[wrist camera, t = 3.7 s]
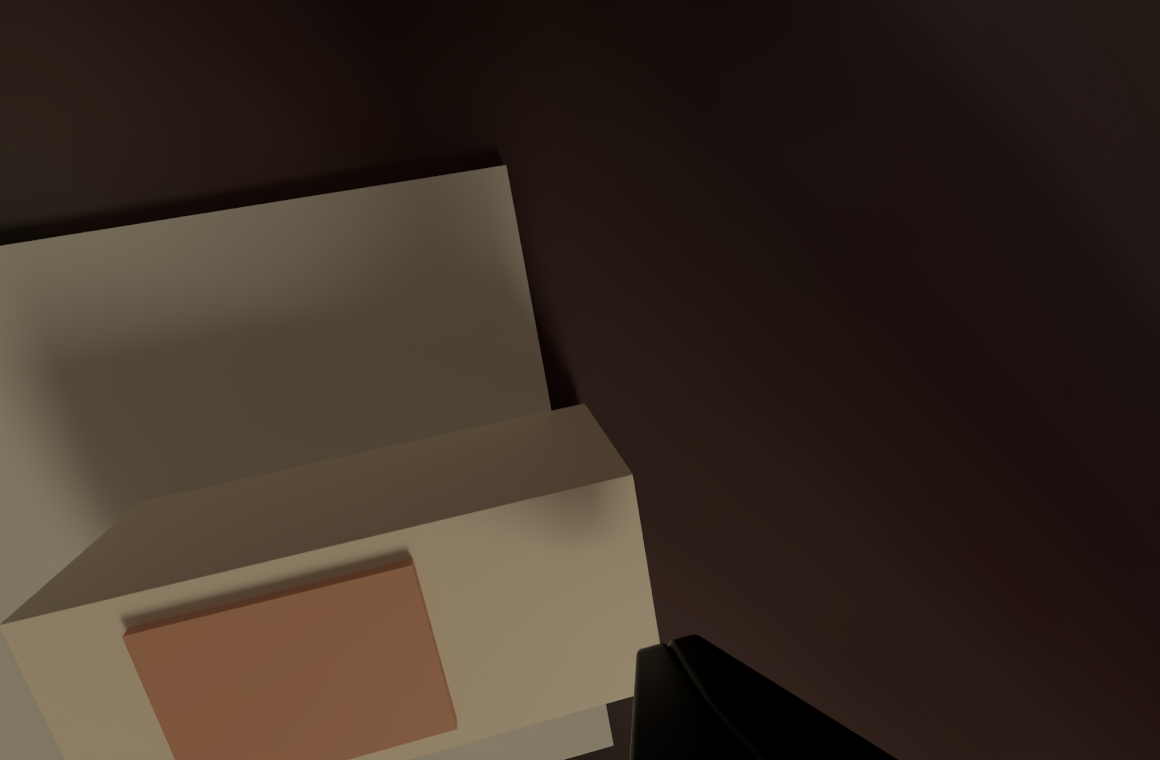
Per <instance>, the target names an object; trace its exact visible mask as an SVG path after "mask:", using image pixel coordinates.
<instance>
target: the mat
mask: <svg viewBox="0 0 1160 760" xmlns="http://www.w3.org/2000/svg"><path fill="white" fill-rule="evenodd" d="M548 411H551V405H550V400H549V394H548V389H547V384H546V378H545V373H544V367H543V362H542V357H541V351H540V346H539V340H538V335H537V329H536V324H535V319H534V313H533V308H532V302H531V297H530V292H529V286H528V281H527V275H526V270H525V265H524V259H523V254H522V248H521V243H520V238H519V232H518V227H517V221H516V216H515V210H514V205H513V200H512V194H511V189H510V183H509V178H508V173H507V167H506V165H504V166H498V167H492V168H485V169H479V170H473V171H467V172H460V173H454V174H448V175H441V176H435V177H429V178H423V179H416V180H410V181H404V182H398V183H391V184H385V185H379V186H373V187H366V188H360V189H354V190H347V191H341V192H335V193H329V194H322V195H316V196H310V197H304V198H297V199H291V200H285V201H279V202H272V203H266V204H260V205H253V206H247V207H241V208H235V209H228V210H222V211H216V212H210V213H203V214H197V215H191V216H184V217H178V218H172V219H166V220H159V221H153V222H147V223H141V224H134V225H128V226H122V227H116V228H109V229H103V230H97V231H90V232H84V233H78V234H72V235H65V236H59V237H53V238H47V239H40V240H34V241H28V242H22V243H15V244H9V245H3V246H0V624H1V623H2V622H3V621H4V620H5V619H7V618H8V617H9V616H10V615H11V614H12V613H13V612H15V611H16V610H17V609H18V608H19V607H20V606H21V605H23V604H24V603H25V602H26V601H27V600H28V599H29V598H31V597H32V596H33V595H34V594H35V593H36V592H37V591H39V590H40V589H41V588H42V587H43V586H44V585H45V584H47V583H48V582H49V581H50V580H51V579H52V578H53V577H55V576H56V575H57V574H58V573H59V572H60V571H61V570H63V569H64V568H65V567H66V566H67V565H68V564H69V563H71V562H72V561H73V560H74V559H75V558H76V557H77V556H79V555H80V554H81V553H82V552H83V551H84V550H85V549H87V548H88V547H89V546H90V545H91V544H92V543H93V542H95V541H96V540H97V539H98V538H99V537H100V536H101V535H103V534H104V533H105V532H106V531H107V530H108V529H109V528H111V527H112V526H113V525H114V524H115V523H116V522H117V521H119V520H120V519H121V518H122V517H123V516H124V515H125V514H127V513H128V512H129V511H130V510H131V509H132V508H133V507H135V506H136V505H137V504H138V503H139V502H140V501H145V500H149V499H154V498H158V497H163V496H167V495H172V494H176V493H181V492H185V491H190V490H194V489H199V488H204V487H208V486H213V485H217V484H222V483H226V482H231V481H235V480H240V479H244V478H249V477H253V476H258V475H263V474H267V473H272V472H276V471H281V470H285V469H290V468H294V467H299V466H303V465H308V464H312V463H317V462H321V461H326V460H331V459H335V458H340V457H344V456H349V455H353V454H358V453H362V452H367V451H371V450H376V449H380V448H385V447H390V446H394V445H399V444H403V443H408V442H412V441H417V440H421V439H426V438H430V437H435V436H439V435H444V434H448V433H453V432H458V431H462V430H467V429H471V428H476V427H480V426H485V425H489V424H494V423H498V422H503V421H507V420H512V419H516V418H521V417H526V416H530V415H535V414H539V413H544V412H548ZM609 746H613V741H612V735H611V730H610V724H609V719H608V714H607V708H606V704H603V705H600V706H596V707H593V708H589V709H586V710H582V711H579V712H575V713H572V714H568V715H565V716H561V717H558V718H554V719H551V720H547V721H544V722H540V723H537V724H533V725H530V726H526V727H523V728H519V729H515V730H512V731H508V732H505V733H501V734H498V735H494V736H491V737H487V738H484V739H480V740H477V741H473V742H470V743H466V744H463V745H459V746H456V747H452V748H449V749H445V750H442V751H438V752H435V753H431V754H428V755H424V756H421V757H417V758H414V759H410V760H564V759H568V758H571V757H575V756H578V755H582V754H585V753H589V752H592V751H595V750H599V749H602V748H606V747H609ZM0 760H65V759H64V757H63V755H62V753H61V751H60V749H59V747H58V745H57V743H56V741H55V739H54V737H53V735H52V733H51V731H50V729H49V727H48V725H47V723H46V720H45V718H44V716H43V714H42V712H41V710H40V708H39V706H38V704H37V702H36V700H35V698H34V696H33V694H32V692H31V690H30V688H29V686H28V684H27V682H26V680H25V678H24V676H23V674H22V672H21V670H20V668H19V666H18V664H17V662H16V659H15V657H14V655H13V653H12V651H11V649H10V647H9V645H8V643H7V641H6V639H5V637H4V635H3V633H2V631H1V629H0Z"/></svg>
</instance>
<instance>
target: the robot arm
mask: <svg viewBox="0 0 1160 760" xmlns="http://www.w3.org/2000/svg"><path fill="white" fill-rule="evenodd" d="M629 760H898V759H896V758H895V757H893V756H891V755H890V754H888V753H887V752H885V751H883V750H882V749H880V748H878V747H877V746H875V745H874V744H872V743H870V742H869V741H867V740H866V739H864V738H862V737H861V736H859V735H858V734H856V733H854V732H853V731H851V730H850V729H848V728H846V727H845V726H843V725H842V724H840V723H838V722H837V721H835V720H834V719H832V718H830V717H829V716H827V715H826V714H824V713H822V712H821V711H819V710H818V709H816V708H814V707H813V706H811V705H810V704H808V703H806V702H805V701H803V700H802V699H800V698H798V697H797V696H795V695H793V694H792V693H790V692H789V691H787V690H785V689H784V688H782V687H781V686H779V685H777V684H776V683H774V682H773V681H771V680H769V679H768V678H766V677H765V676H763V675H761V674H760V673H758V672H757V671H755V670H753V669H752V668H750V667H749V666H747V665H745V664H744V663H742V662H741V661H739V660H737V659H736V658H734V657H733V656H731V655H729V654H728V653H726V652H725V651H723V650H721V649H720V648H718V647H716V646H715V645H713V644H712V643H710V642H708V641H707V640H705V639H704V638H702V637H700V636H698V635H695V634H694V635H689V636H685V637H681V638H678V639H674V640H671V641H670V642H669V643H668V646H667V645H666V644H664V643H659V644H656V645H652V646H649V647H645V648H641V649H639V650H638V651H637V654H636V669H635V684H634V699H633V714H632V729H631V744H630V759H629Z"/></svg>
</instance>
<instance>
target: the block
mask: <svg viewBox="0 0 1160 760" xmlns="http://www.w3.org/2000/svg"><path fill="white" fill-rule="evenodd" d="M0 629H1V631H2V633H3V635H4V637H5V639H6V641H7V643H8V645H9V647H10V649H11V651H12V653H13V655H14V657H15V659H16V662H17V664H18V666H19V668H20V670H21V672H22V674H23V676H24V678H25V680H26V682H27V684H28V686H29V688H30V690H31V692H32V694H33V696H34V698H35V700H36V702H37V704H38V706H39V708H40V710H41V712H42V714H43V716H44V718H45V720H46V723H47V725H48V727H49V729H50V731H51V733H52V735H53V737H54V739H55V741H56V743H57V745H58V747H59V749H60V751H61V753H62V755H63V757H64V759H65V760H410V759H414V758H417V757H421V756H424V755H428V754H431V753H435V752H438V751H442V750H445V749H449V748H452V747H456V746H459V745H463V744H466V743H470V742H473V741H477V740H480V739H484V738H487V737H491V736H494V735H498V734H501V733H505V732H508V731H512V730H515V729H519V728H523V727H526V726H530V725H533V724H537V723H540V722H544V721H547V720H551V719H554V718H558V717H561V716H565V715H568V714H572V713H575V712H579V711H582V710H586V709H589V708H593V707H596V706H600V705H603V704H607V703H610V702H614V701H617V700H621V699H624V698H628V697H631V696H634V684H635V669H636V654H637V651H638V650H639V649H641V648H645V647H649V646H652V645H656V644H659V643H660V642H659V636H658V630H657V623H656V617H655V611H654V605H653V598H652V592H651V586H650V580H649V574H648V567H647V561H646V555H645V549H644V542H643V536H642V530H641V524H640V518H639V511H638V505H637V499H636V493H635V486H634V480H633V474H632V473H631V471H630V470H629V469H628V467H627V466H626V464H625V463H624V461H623V460H622V458H621V457H620V455H619V454H618V452H617V451H616V449H615V448H614V446H613V445H612V443H611V442H610V440H609V439H608V438H607V436H606V435H605V433H604V432H603V430H602V429H601V427H600V426H599V424H598V423H597V421H596V420H595V418H594V417H593V415H592V414H591V412H590V411H589V409H588V408H587V406H586V405H585V404H580V405H575V406H571V407H566V408H562V409H557V410H553V411H548V412H544V413H539V414H535V415H530V416H526V417H521V418H516V419H512V420H507V421H503V422H498V423H494V424H489V425H485V426H480V427H476V428H471V429H467V430H462V431H458V432H453V433H448V434H444V435H439V436H435V437H430V438H426V439H421V440H417V441H412V442H408V443H403V444H399V445H394V446H390V447H385V448H380V449H376V450H371V451H367V452H362V453H358V454H353V455H349V456H344V457H340V458H335V459H331V460H326V461H321V462H317V463H312V464H308V465H303V466H299V467H294V468H290V469H285V470H281V471H276V472H272V473H267V474H263V475H258V476H253V477H249V478H244V479H240V480H235V481H231V482H226V483H222V484H217V485H213V486H208V487H204V488H199V489H194V490H190V491H185V492H181V493H176V494H172V495H167V496H163V497H158V498H154V499H149V500H145V501H140V502H139V503H138V504H137V505H136V506H135V507H133V508H132V509H131V510H130V511H129V512H128V513H127V514H125V515H124V516H123V517H122V518H121V519H120V520H119V521H117V522H116V523H115V524H114V525H113V526H112V527H111V528H109V529H108V530H107V531H106V532H105V533H104V534H103V535H101V536H100V537H99V538H98V539H97V540H96V541H95V542H93V543H92V544H91V545H90V546H89V547H88V548H87V549H85V550H84V551H83V552H82V553H81V554H80V555H79V556H77V557H76V558H75V559H74V560H73V561H72V562H71V563H69V564H68V565H67V566H66V567H65V568H64V569H63V570H61V571H60V572H59V573H58V574H57V575H56V576H55V577H53V578H52V579H51V580H50V581H49V582H48V583H47V584H45V585H44V586H43V587H42V588H41V589H40V590H39V591H37V592H36V593H35V594H34V595H33V596H32V597H31V598H29V599H28V600H27V601H26V602H25V603H24V604H23V605H21V606H20V607H19V608H18V609H17V610H16V611H15V612H13V613H12V614H11V615H10V616H9V617H8V618H7V619H5V620H4V621H3V622H2V623H1V624H0Z"/></svg>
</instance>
